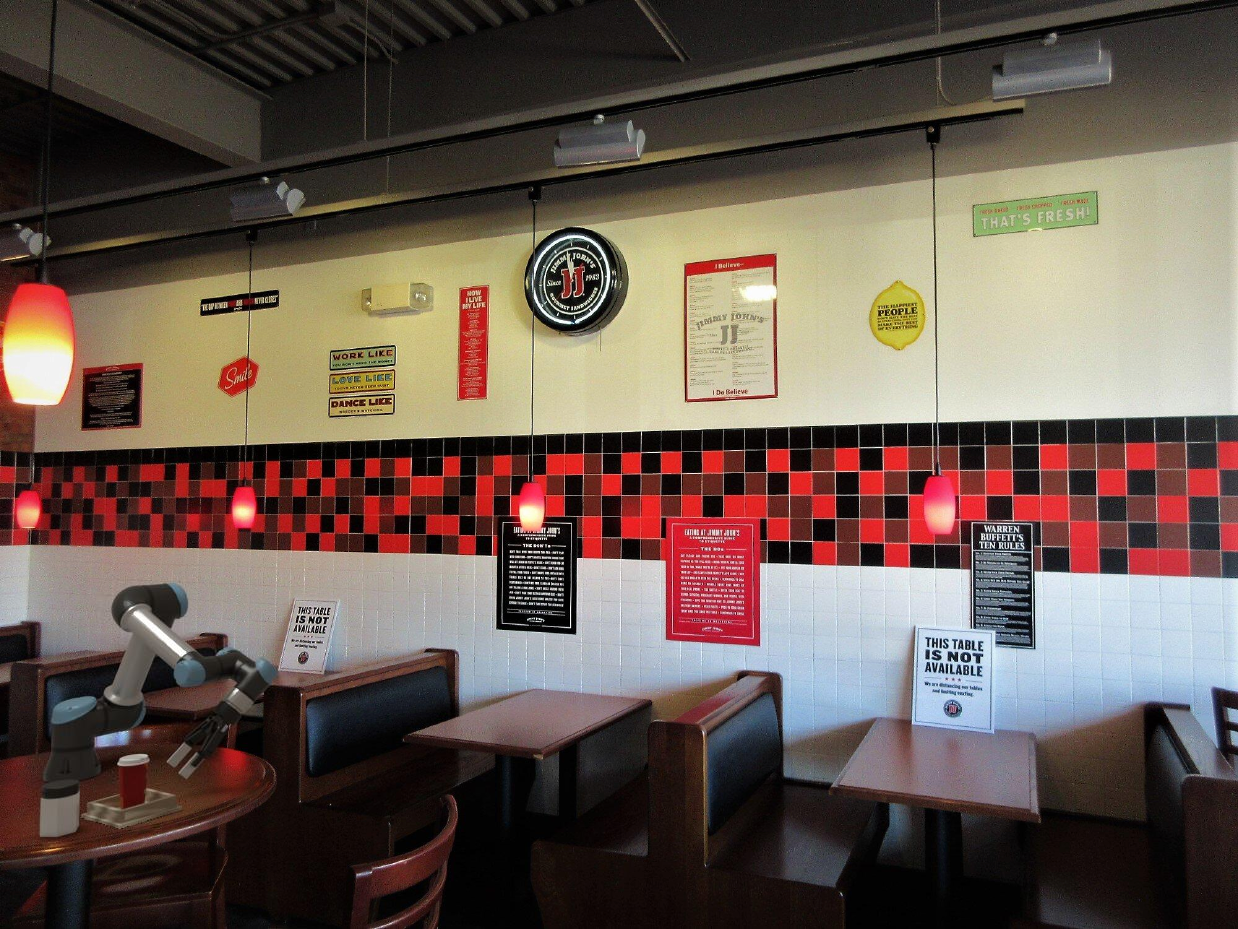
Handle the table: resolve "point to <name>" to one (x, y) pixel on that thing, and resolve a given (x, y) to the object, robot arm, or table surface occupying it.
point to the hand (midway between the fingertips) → (176, 770)
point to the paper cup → (133, 779)
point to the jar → (59, 808)
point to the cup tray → (131, 809)
